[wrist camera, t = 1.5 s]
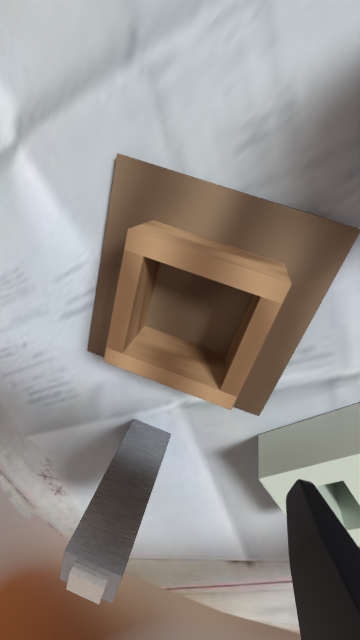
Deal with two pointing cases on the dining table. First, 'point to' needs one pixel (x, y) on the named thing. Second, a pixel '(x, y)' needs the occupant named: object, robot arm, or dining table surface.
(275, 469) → the narrow slot block
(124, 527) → the square bit
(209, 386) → the square sleeve
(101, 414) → the dining table surface
